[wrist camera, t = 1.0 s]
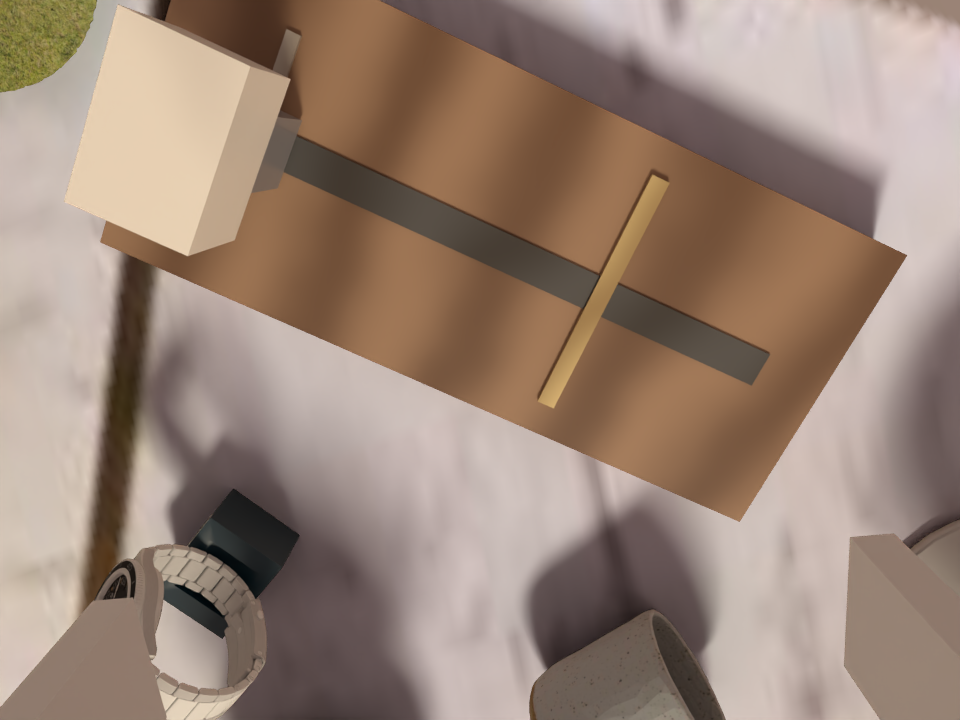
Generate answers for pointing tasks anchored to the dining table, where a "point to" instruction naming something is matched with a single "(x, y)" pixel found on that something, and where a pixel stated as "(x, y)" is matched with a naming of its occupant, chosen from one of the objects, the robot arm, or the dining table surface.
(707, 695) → the ceramic mug
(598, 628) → the dining table surface
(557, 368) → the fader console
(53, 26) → the mat
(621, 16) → the dining table surface
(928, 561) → the chalice
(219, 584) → the watch
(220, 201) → the fader knob
